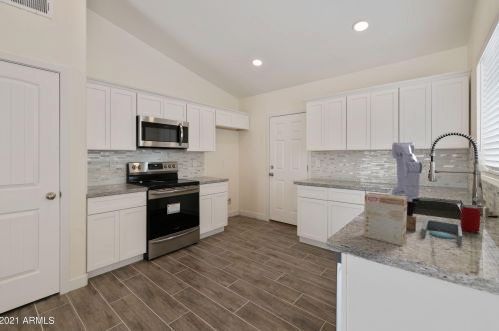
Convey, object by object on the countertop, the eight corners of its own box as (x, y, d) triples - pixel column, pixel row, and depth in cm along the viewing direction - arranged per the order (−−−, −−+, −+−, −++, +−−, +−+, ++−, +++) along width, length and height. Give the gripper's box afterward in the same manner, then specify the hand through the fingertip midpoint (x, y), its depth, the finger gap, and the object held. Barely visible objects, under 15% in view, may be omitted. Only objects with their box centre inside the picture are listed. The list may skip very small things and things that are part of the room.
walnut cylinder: (405, 227, 116) (405, 214, 116) (416, 229, 114) (416, 215, 113) (403, 230, 113) (404, 216, 113) (415, 232, 110) (415, 217, 110)
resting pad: (430, 230, 112) (430, 230, 112) (454, 235, 107) (454, 234, 107) (428, 235, 106) (428, 234, 106) (455, 240, 100) (455, 239, 100)
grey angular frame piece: (425, 227, 118) (426, 219, 118) (460, 232, 109) (460, 224, 109) (422, 237, 103) (422, 229, 103) (461, 245, 94) (462, 236, 94)
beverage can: (479, 230, 113) (480, 206, 112) (479, 234, 108) (481, 208, 107) (460, 227, 117) (461, 204, 116) (460, 230, 112) (461, 206, 112)
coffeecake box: (406, 241, 99) (407, 196, 98) (402, 246, 94) (404, 198, 92) (368, 232, 109) (369, 192, 108) (363, 236, 104) (364, 194, 103)
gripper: (404, 184, 120) (403, 209, 121) (399, 187, 109) (398, 215, 110) (421, 185, 115) (420, 212, 116) (418, 188, 105) (416, 218, 105)
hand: (410, 214), depth 113 cm, fingers open, 7 cm apart
